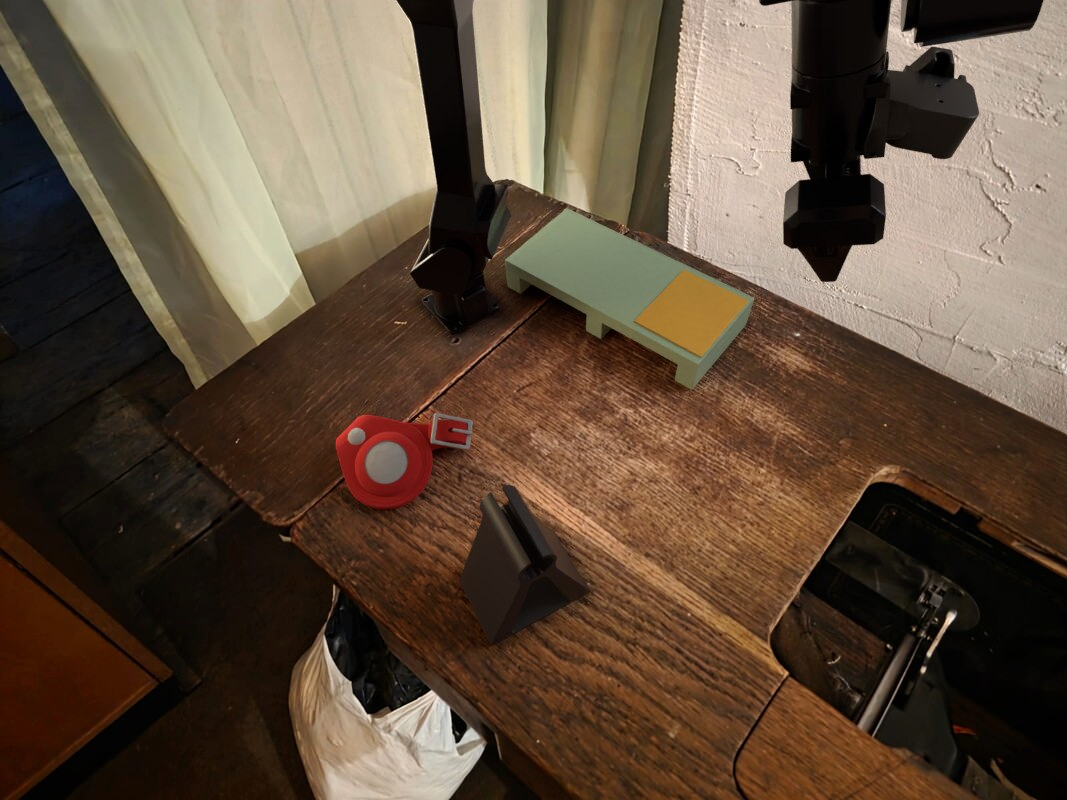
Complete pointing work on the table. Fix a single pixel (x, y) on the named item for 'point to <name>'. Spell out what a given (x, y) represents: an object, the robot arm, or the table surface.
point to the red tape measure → (395, 456)
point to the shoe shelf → (632, 292)
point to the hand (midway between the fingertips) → (829, 242)
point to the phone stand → (516, 569)
